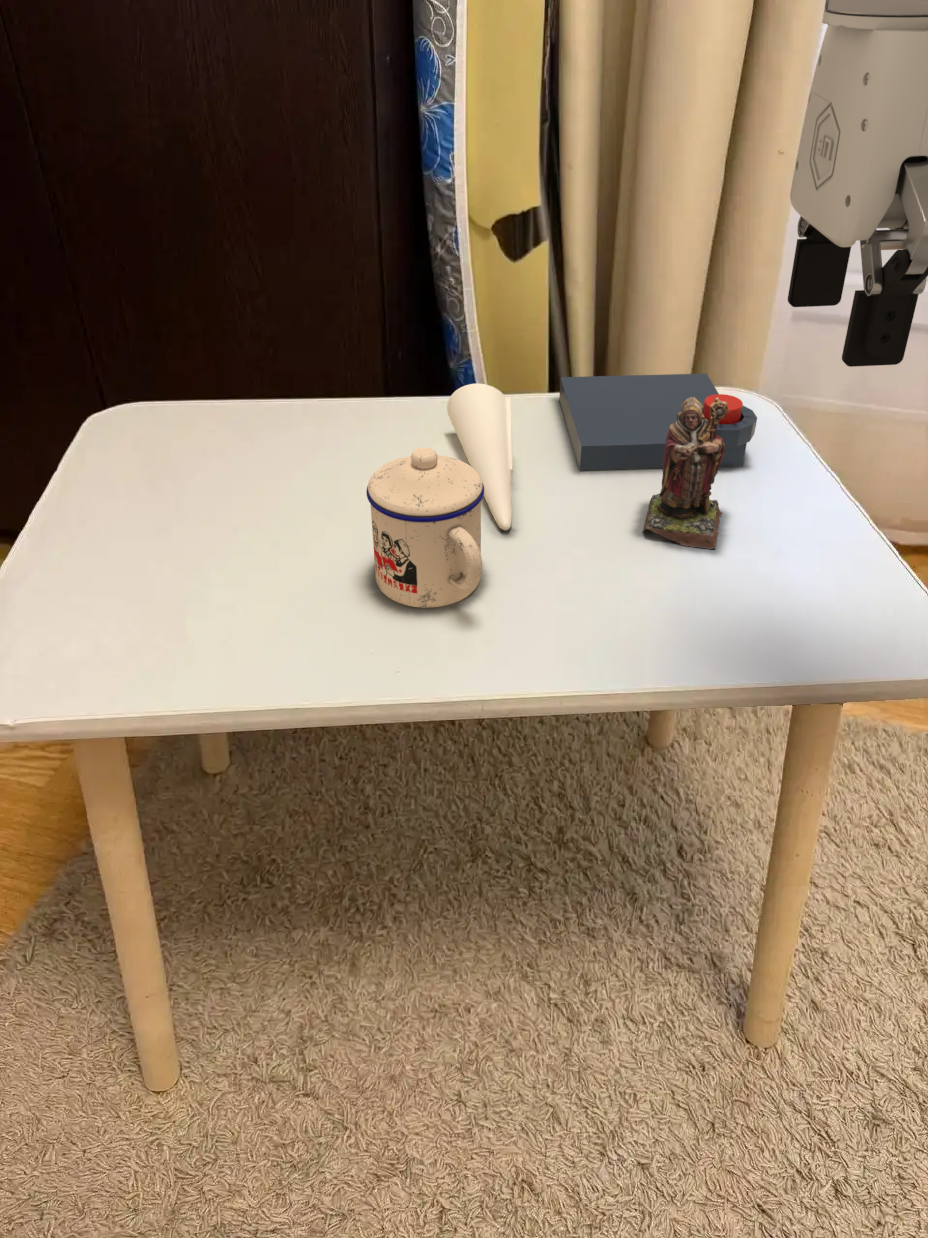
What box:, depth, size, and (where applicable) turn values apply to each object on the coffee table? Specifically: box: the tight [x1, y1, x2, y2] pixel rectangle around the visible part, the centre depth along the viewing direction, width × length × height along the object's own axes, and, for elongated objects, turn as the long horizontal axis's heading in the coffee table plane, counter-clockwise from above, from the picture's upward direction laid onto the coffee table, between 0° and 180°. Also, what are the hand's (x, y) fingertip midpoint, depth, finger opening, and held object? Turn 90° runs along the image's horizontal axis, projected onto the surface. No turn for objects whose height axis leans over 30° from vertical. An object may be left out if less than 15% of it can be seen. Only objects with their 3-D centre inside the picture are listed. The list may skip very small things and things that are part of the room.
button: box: [703, 393, 744, 424], centre depth 95 cm, size 4×4×2 cm
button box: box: [558, 373, 758, 472], centre depth 101 cm, size 17×17×4 cm
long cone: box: [446, 383, 514, 531], centre depth 94 cm, size 6×6×19 cm
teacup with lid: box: [366, 447, 484, 609], centre depth 77 cm, size 12×9×12 cm
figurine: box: [642, 397, 729, 550], centre depth 84 cm, size 6×6×12 cm
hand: (840, 332), depth 58 cm, fingers open, 9 cm apart
